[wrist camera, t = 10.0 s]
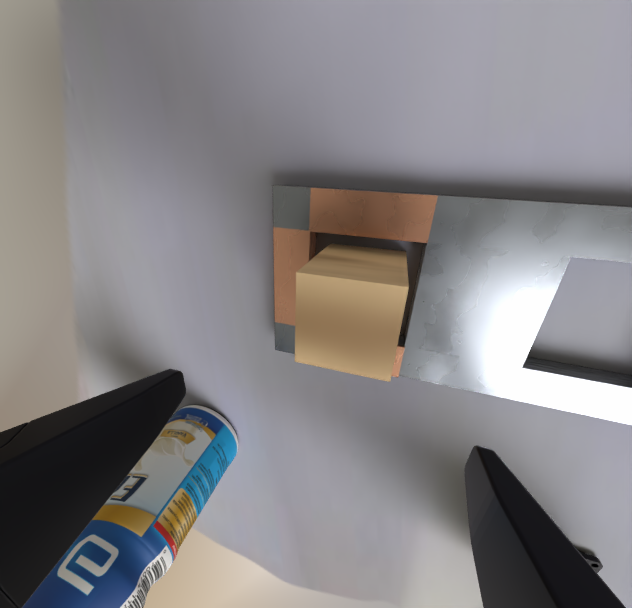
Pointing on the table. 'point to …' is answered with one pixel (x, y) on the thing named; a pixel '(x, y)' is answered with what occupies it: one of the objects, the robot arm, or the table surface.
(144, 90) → the table surface
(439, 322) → the rail frame
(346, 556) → the table surface
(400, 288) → the wooden block
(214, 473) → the beverage bottle
